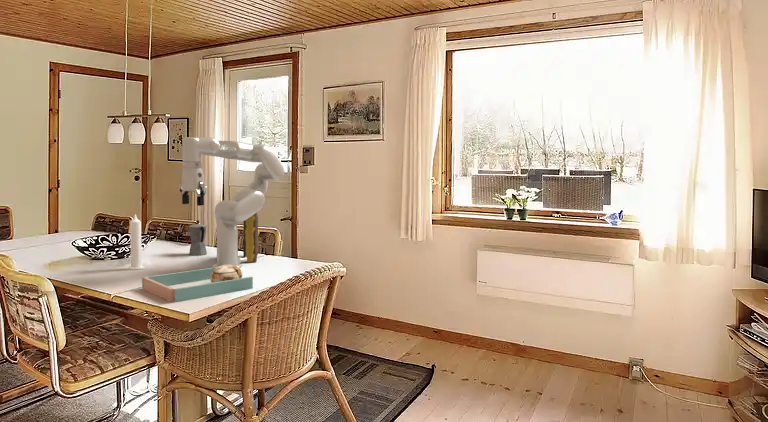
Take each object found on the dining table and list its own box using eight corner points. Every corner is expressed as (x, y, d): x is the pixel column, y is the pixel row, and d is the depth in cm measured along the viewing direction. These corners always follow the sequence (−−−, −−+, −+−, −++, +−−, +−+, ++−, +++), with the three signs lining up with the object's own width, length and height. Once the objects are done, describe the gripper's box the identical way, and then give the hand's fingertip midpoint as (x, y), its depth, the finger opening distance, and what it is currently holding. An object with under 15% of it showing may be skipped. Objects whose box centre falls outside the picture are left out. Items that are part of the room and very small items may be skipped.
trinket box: (212, 289, 216) (212, 270, 215) (207, 281, 229) (207, 262, 229) (246, 287, 222) (246, 267, 221) (239, 279, 235) (239, 261, 234)
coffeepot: (185, 253, 291) (184, 219, 289) (202, 251, 296) (202, 218, 295) (194, 257, 279) (194, 222, 277) (212, 256, 284) (212, 221, 282)
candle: (138, 270, 246) (137, 215, 243) (124, 269, 247) (123, 214, 245) (148, 267, 253) (147, 213, 250) (134, 266, 254) (133, 213, 252)
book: (258, 262, 270) (258, 212, 268) (240, 263, 269) (241, 212, 266) (259, 254, 292) (259, 208, 289) (242, 254, 290) (242, 208, 288)
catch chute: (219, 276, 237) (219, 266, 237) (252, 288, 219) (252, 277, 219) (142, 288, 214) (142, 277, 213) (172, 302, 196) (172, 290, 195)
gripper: (212, 166, 238) (213, 205, 240) (186, 165, 247) (187, 202, 248) (198, 166, 231) (199, 206, 233) (171, 165, 240) (173, 204, 242)
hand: (193, 204), depth 241 cm, fingers open, 9 cm apart
